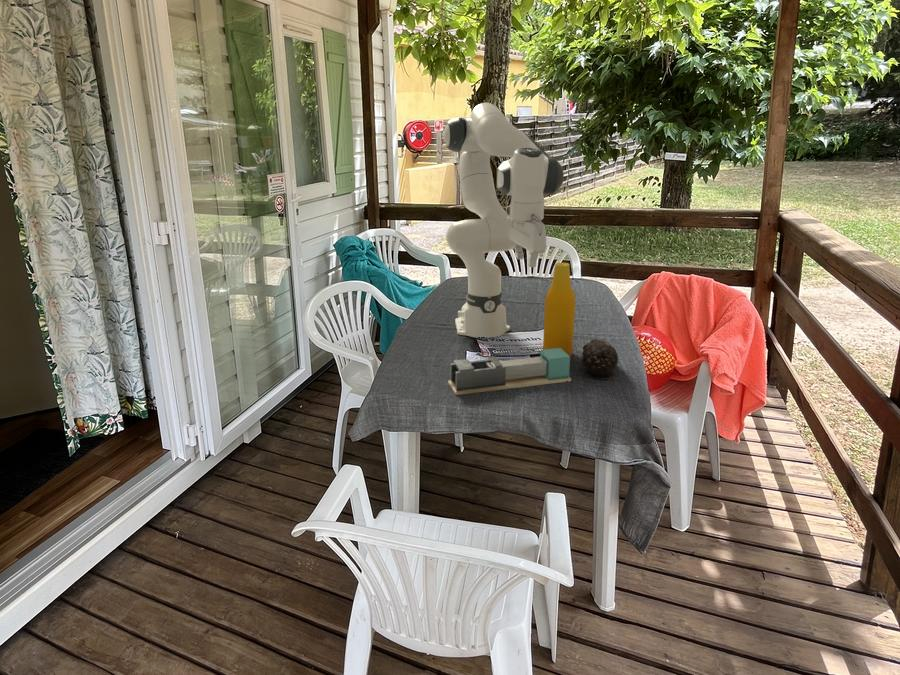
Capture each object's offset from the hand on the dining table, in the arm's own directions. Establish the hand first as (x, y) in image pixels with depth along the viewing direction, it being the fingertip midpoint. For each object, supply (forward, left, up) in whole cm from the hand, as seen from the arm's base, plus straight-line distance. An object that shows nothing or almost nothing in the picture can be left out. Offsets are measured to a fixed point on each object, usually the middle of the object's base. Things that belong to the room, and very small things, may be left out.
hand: (525, 262), depth 173 cm
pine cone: (+3, +22, -33) cm, 40 cm away
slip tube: (+5, -2, -31) cm, 32 cm away
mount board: (+5, -6, -33) cm, 34 cm away
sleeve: (+5, -15, -33) cm, 37 cm away
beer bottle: (-11, +16, -33) cm, 39 cm away
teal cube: (+5, +8, -33) cm, 34 cm away
